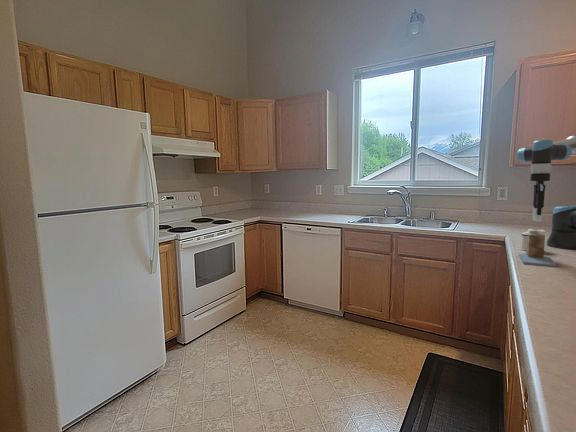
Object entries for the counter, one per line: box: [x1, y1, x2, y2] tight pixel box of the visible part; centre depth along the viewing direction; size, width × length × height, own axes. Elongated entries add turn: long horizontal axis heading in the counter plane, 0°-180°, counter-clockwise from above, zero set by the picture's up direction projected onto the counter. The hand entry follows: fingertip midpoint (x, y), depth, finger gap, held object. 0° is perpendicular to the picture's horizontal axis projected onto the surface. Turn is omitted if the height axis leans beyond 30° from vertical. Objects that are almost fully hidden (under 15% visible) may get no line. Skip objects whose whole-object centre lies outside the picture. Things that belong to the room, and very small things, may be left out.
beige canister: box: [526, 228, 546, 258], centre depth 158 cm, size 6×6×13 cm
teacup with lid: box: [520, 230, 528, 252], centre depth 177 cm, size 12×9×12 cm
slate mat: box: [518, 253, 557, 268], centre depth 155 cm, size 12×18×1 cm, turn 150°
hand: (537, 220), depth 157 cm, fingers open, 5 cm apart
